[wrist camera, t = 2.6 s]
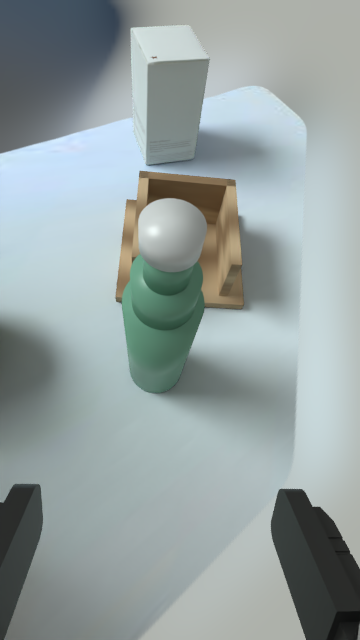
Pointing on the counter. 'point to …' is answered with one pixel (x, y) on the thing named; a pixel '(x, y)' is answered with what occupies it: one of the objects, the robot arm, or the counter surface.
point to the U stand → (220, 239)
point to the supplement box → (167, 91)
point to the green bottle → (164, 293)
